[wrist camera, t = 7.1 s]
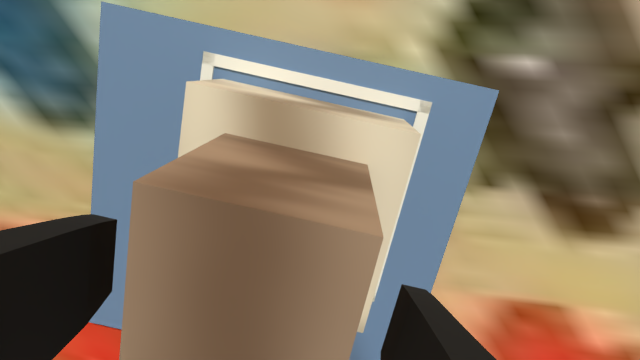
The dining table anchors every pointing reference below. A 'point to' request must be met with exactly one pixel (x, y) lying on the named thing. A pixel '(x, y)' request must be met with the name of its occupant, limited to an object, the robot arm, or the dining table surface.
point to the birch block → (308, 139)
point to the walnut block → (249, 255)
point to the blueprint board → (289, 77)
